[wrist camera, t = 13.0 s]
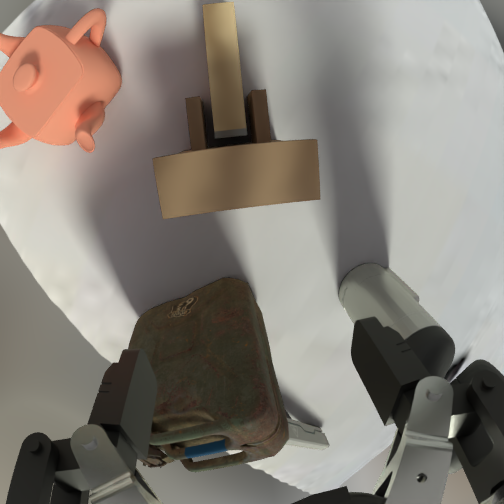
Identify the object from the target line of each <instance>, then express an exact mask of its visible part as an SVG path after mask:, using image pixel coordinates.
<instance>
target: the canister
mask: <svg viewBox="0 0 504 504" xmlns="http://www.w3.org/2000/svg"><path fill="white" fill-rule="evenodd" d="M128 349H144V351H145V353H146V355H147V358H148V360H149V362H150V365H151V367H152V369H153V372H154V374H155V376H156V380H157V395H156V401H155V407H154V413H153V420H152V427H151V434H150V441H149V449H148V456H147V460H144V459H139V460H140V461H141V462H143V465H144V466H146V465H148V467H150V468H152V467H160V468H161V466H164V465H166V464H167V463H171V462H173V461H174V460H173V459H175V460H180V461H181V462H182V464H183V465H184V467H185V468H186V469H188V470H189V471H191V472H200V471H206V470H212V469H218V468H224V467H229V466H234V465H239V464H244V463H248V462H253V461H257V460H261V459H264V458H267V457H272V456H275V455H276V454H277V453H278V452H279V451H280V450H281V449H282V448H283V446H284V445H285V444H286V442H287V441H288V440H289V428H288V420H287V416H286V413H285V409H284V405H283V401H282V397H281V394H280V390H279V386H278V382H277V378H276V374H275V371H274V367H273V363H272V358H271V352H270V346H269V342H268V337H267V333H266V329H265V324H264V320H263V316H262V312H261V310H260V308H259V306H258V304H257V303H256V301H255V299H254V297H253V295H252V292H251V290H250V288H249V285H248V283H245V282H243V281H241V280H238V279H233V278H222V279H220V280H218V281H216V282H213V283H211V284H209V285H207V286H205V287H202V288H200V289H198V290H196V291H194V292H192V293H191V294H189V295H188V296H186V297H184V298H181V299H177V300H173V301H170V302H167V303H164V304H162V305H159V306H157V307H154V308H152V309H150V310H149V311H147V312H146V313H144V314H143V315H142V316H141V317H140V318H139V319H138V321H137V323H136V325H135V328H134V331H133V334H132V337H131V340H130V343H129V347H128ZM160 449H161V450H163V451H165V453H166V454H167V455H166V454H164V453H163V452H162V451H161V450H160ZM228 450H243V451H242V452H240V453H236V454H232V455H228V456H223V457H219V458H214V459H208V460H203V461H198V462H193V460H192V458H193V457H199V456H204V455H209V454H214V453H219V452H223V451H228Z"/></svg>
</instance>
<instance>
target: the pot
mask: <svg viewBox="0 0 504 504" xmlns="http://www.w3.org/2000/svg"><path fill="white" fill-rule="evenodd" d="M105 26H106V14H105V12H104V10H102V9H100V8H97V9H93V10H91V11H89V12H88V13H87V14H85V15H84V16H83V17H82V18H81V19H80V20H79V21H78V22H77V23H76V24H75V25H74V27H73V28H72V29H69V28H66V27H62V26H55V25H42V26H37V27H35V28H34V29H33V30H32V31H31V32H30V33H29V34H28V35H27V36H26V38H25V37H13V36H8V35H4V34H1V33H0V50H1V51H2V52H3V53H5V54H6V55H7V56H8V57H9V60H8V61H7V63H6V64H5V66H4V67H3V69H2V71H1V72H0V106H1V107H2V109H3V110H4V112H5V113H6V115H7V116H8V117H9V118H10V120H11V121H12V123H11V124H10V125H8V126H7V127H6V128H5V129H3V130H2V131H1V132H0V149H1V148H5V147H10V146H15V145H19V144H22V143H25V142H27V141H28V140H30V139H31V138H34V139H36V140H39V141H41V142H44V143H47V144H51V145H69V144H71V143H73V142H74V141H75V140H77V142H78V144H79V145H80V147H81V148H82V149H83V150H84V151H86V152H89V153H91V152H93V151H94V149H95V143H94V140H93V137H92V135H93V134H94V133H95V132H96V131H97V130H98V129H99V128H100V126H101V125H102V123H103V121H104V118H105V111H104V108H105V107H106V106H107V105H108V103H109V102H110V101H111V100H112V99H113V97H114V96H115V95H116V93H117V92H118V91H119V89H120V87H121V84H122V78H121V75H120V73H119V71H118V69H117V67H116V66H115V64H114V63H113V61H112V60H111V59H110V57H109V56H108V54H107V53H106V52H105V51H104V50H103V49H102V48H101V47H100V43H101V40H102V37H103V33H104V30H105ZM90 28H91V32H90V37H89V38H88V37H87V36H85V35H84V34H85V33H86V32H87V31H88V30H89V29H90Z"/></svg>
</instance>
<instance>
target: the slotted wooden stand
mask: <svg viewBox="0 0 504 504" xmlns="http://www.w3.org/2000/svg"><path fill="white" fill-rule="evenodd" d="M185 99H186V108H187V117H188V126H189V134H190V142H191V149H192V150H187V151H182V152H180V153H178V154H173V155H167V156H161V157H156V158H153V166H154V172H155V178H156V184H157V190H158V196H159V201H160V206H161V212H162V217H163V219H168V218H175V217H181V216H188V215H195V214H202V213H209V212H216V211H224V210H231V209H239V208H247V207H255V206H264V205H272V204H281V203H290V202H300V201H310V200H320V180H319V160H318V144H317V140H316V139H308V140H290V141H281V140H271V136H270V125H269V115H268V105H267V95H266V89H264V90H252V91H251V92H250V93H249V95H248V96H247V104H248V113H249V123H250V132H251V142H248V143H239V144H230V145H222V146H214V147H208V143H207V135H206V126H205V118H204V109H203V101H202V100H201V98H200V96H198V97H191V98H185Z"/></svg>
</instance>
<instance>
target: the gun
mask: <svg viewBox="0 0 504 504" xmlns="http://www.w3.org/2000/svg"><path fill="white" fill-rule="evenodd" d="M284 409H285V408H284ZM285 413H286V416H287V420H288V428H289V440H288V441H287V442H286V444H285V445H291V446H297V447H303V448H310V449H317V450H324V449H326V448H328V447H329V443H328V440H327V438H326V436H325V433H321V432H322V430H321V428H318V427H314V426H311V425H308V424H305V423H301V422H298V421H295V420H292V419H291V417H290V416H289V414H288V413H287V411H286V409H285Z"/></svg>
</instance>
